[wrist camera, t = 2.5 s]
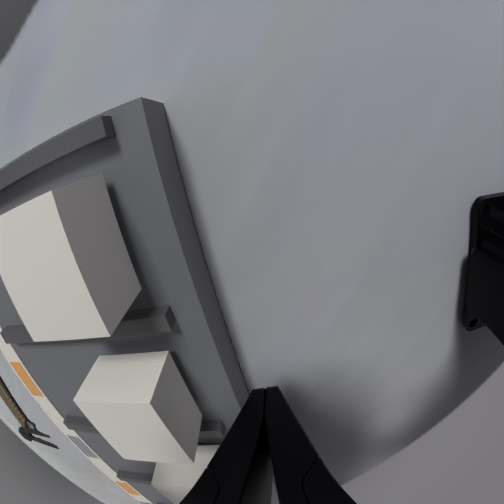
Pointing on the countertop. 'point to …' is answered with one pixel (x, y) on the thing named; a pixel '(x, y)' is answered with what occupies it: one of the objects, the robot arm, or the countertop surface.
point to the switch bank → (149, 276)
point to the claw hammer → (22, 417)
